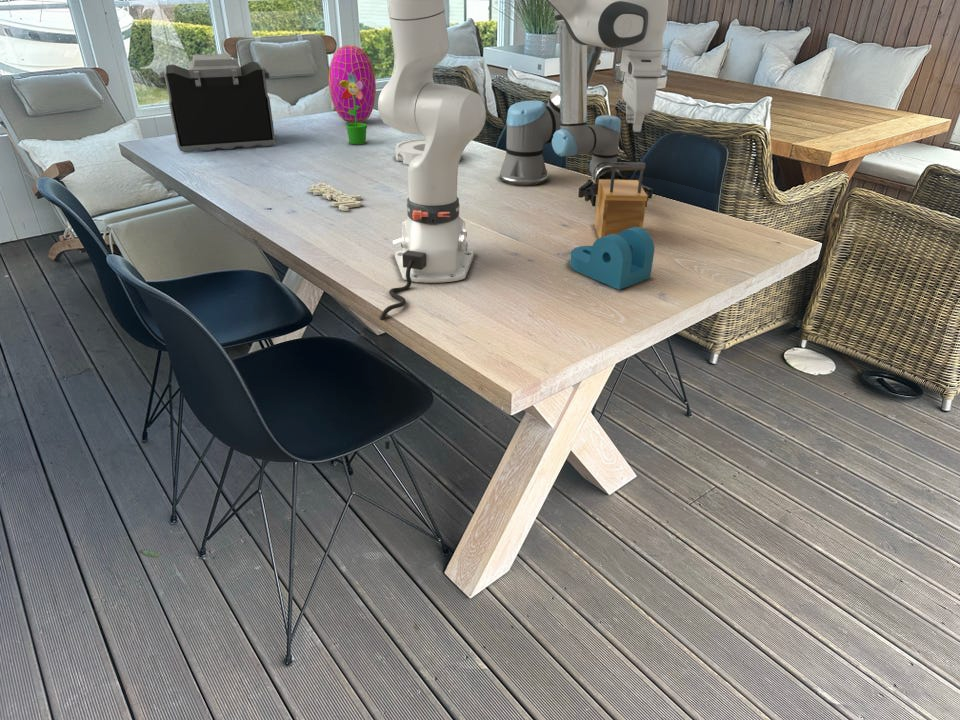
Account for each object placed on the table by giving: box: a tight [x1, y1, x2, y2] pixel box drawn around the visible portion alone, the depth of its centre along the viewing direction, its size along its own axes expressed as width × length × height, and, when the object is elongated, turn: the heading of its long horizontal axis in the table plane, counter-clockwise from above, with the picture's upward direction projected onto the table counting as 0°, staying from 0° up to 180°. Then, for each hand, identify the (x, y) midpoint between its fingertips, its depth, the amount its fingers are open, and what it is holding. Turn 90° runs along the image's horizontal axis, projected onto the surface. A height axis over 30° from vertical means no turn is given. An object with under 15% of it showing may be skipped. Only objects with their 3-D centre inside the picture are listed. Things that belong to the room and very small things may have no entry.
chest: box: [594, 185, 646, 239], centre depth 176 cm, size 13×10×11 cm
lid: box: [599, 161, 649, 202], centre depth 171 cm, size 14×10×9 cm
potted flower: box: [339, 73, 368, 145], centre depth 255 cm, size 9×8×25 cm
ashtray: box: [394, 138, 462, 166], centre depth 243 cm, size 23×23×4 cm
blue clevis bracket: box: [569, 227, 655, 291], centre depth 155 cm, size 18×10×10 cm, turn 39°
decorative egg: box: [328, 44, 377, 124], centre depth 286 cm, size 19×19×30 cm
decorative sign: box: [308, 182, 362, 212], centre depth 203 cm, size 26×1×10 cm
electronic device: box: [159, 53, 276, 153], centre depth 251 cm, size 37×22×30 cm, turn 111°
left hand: (633, 126), depth 161 cm, fingers open, 8 cm apart
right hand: (620, 201), depth 182 cm, fingers open, 13 cm apart
